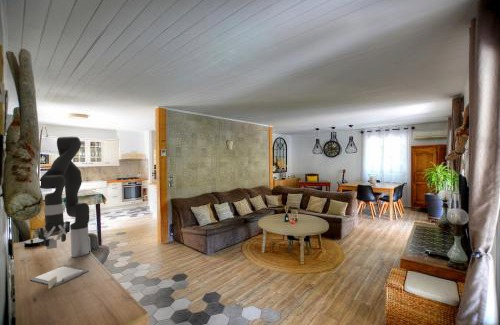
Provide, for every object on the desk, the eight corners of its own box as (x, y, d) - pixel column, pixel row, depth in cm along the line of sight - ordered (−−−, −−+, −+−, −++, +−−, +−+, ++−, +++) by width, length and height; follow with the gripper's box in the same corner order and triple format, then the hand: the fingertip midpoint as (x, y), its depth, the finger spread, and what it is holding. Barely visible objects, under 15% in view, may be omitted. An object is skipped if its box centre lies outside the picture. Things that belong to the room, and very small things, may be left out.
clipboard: (64, 266, 134) (64, 263, 134) (88, 271, 127) (88, 268, 127) (29, 280, 119) (29, 276, 119) (55, 286, 112) (55, 283, 112)
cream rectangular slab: (55, 283, 115) (55, 276, 115) (56, 283, 115) (56, 275, 115) (48, 288, 110) (48, 281, 110) (50, 288, 110) (49, 281, 110)
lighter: (46, 249, 123) (45, 234, 122) (46, 248, 124) (46, 233, 124) (63, 246, 127) (63, 231, 127) (63, 245, 128) (63, 230, 128)
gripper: (64, 209, 133) (65, 238, 133) (33, 215, 120) (34, 247, 120) (73, 210, 130) (74, 240, 131) (41, 216, 117) (43, 249, 117)
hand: (55, 243), depth 125 cm, fingers closed on lighter, 7 cm apart
